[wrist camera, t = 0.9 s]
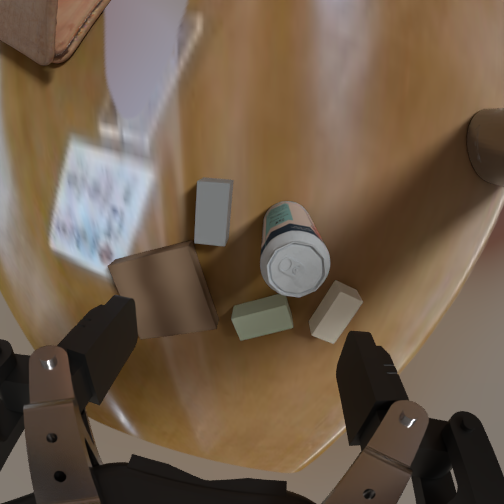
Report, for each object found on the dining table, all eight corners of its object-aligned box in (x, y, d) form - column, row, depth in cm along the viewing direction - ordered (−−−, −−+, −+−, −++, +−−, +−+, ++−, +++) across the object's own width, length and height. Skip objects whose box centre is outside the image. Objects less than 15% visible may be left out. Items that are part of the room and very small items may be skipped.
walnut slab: (192, 240, 32) (187, 246, 30) (219, 319, 35) (216, 328, 33) (115, 259, 33) (107, 265, 31) (146, 330, 36) (140, 339, 35)
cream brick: (334, 279, 33) (340, 291, 30) (356, 289, 33) (363, 301, 30) (308, 320, 35) (311, 335, 32) (329, 329, 35) (333, 343, 32)
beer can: (295, 253, 32) (308, 313, 21) (254, 232, 31) (246, 284, 20) (318, 214, 30) (346, 256, 19) (277, 191, 30) (282, 221, 18)
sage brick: (284, 291, 34) (285, 304, 31) (291, 313, 35) (293, 327, 32) (234, 305, 35) (231, 318, 32) (242, 325, 36) (240, 340, 33)
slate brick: (204, 177, 30) (197, 181, 27) (233, 179, 30) (230, 183, 27) (200, 234, 32) (194, 243, 29) (228, 236, 32) (224, 246, 29)
